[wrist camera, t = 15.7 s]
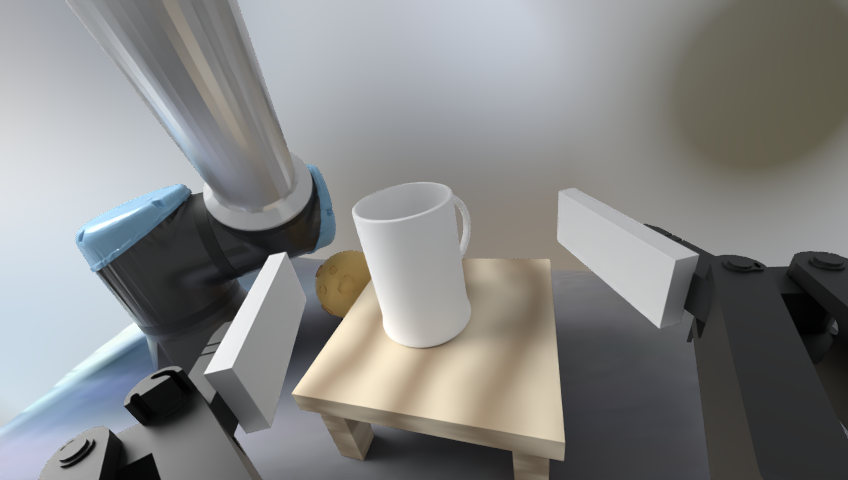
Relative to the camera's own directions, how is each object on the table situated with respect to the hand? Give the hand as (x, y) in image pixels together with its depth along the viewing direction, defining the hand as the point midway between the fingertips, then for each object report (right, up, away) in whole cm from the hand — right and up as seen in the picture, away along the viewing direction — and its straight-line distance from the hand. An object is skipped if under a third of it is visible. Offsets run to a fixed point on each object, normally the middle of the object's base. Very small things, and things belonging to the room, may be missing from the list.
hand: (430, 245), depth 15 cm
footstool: (+3, -16, +20) cm, 25 cm away
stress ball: (-10, -11, +34) cm, 37 cm away
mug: (+1, -6, +16) cm, 18 cm away
